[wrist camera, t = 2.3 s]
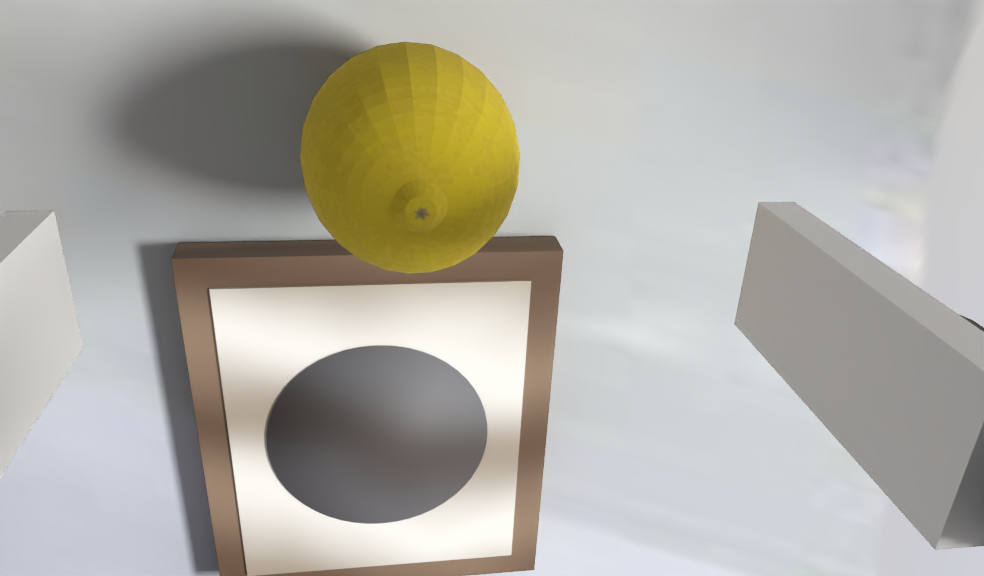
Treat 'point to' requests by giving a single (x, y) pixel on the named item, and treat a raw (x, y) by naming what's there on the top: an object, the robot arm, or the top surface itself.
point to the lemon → (410, 157)
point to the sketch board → (370, 405)
